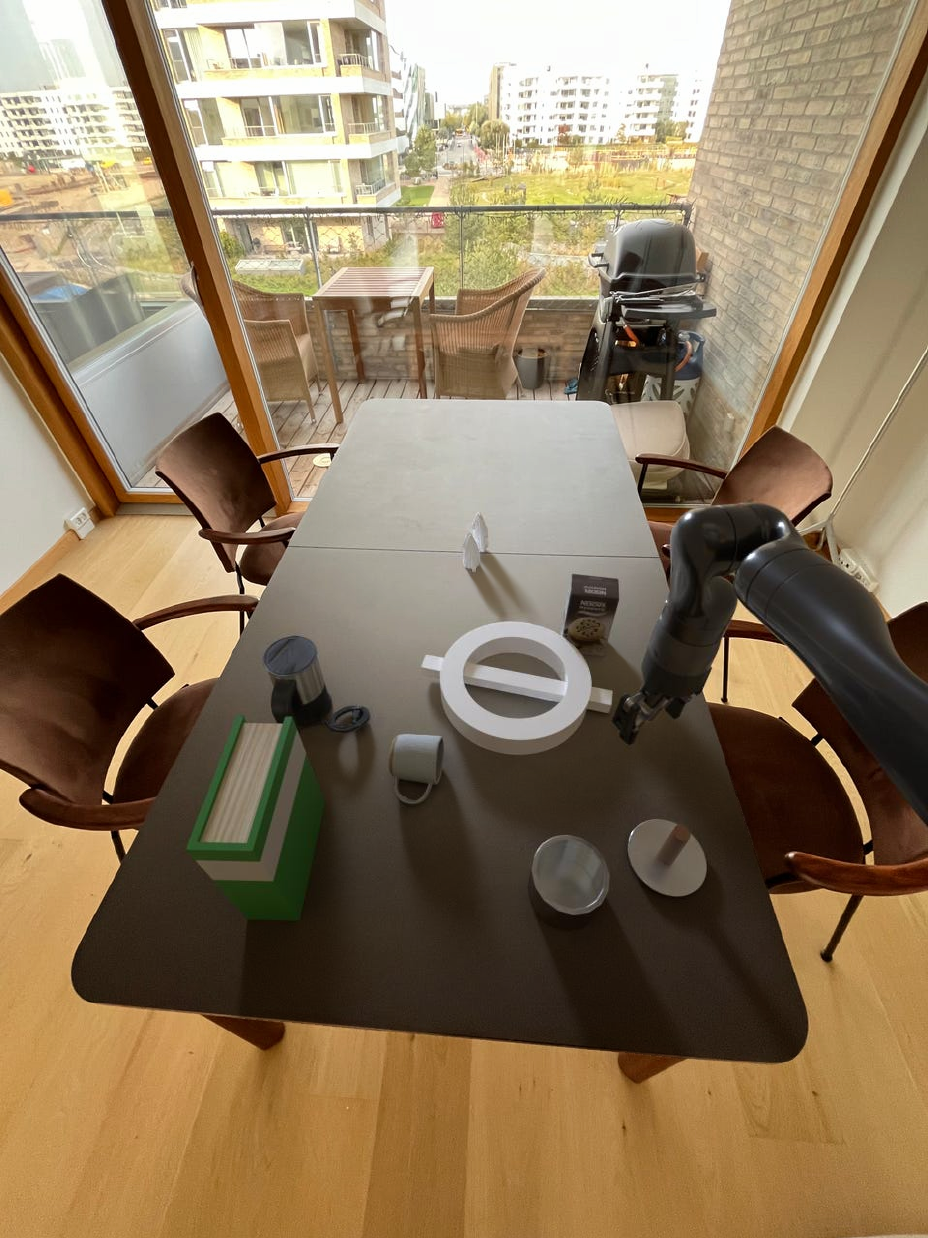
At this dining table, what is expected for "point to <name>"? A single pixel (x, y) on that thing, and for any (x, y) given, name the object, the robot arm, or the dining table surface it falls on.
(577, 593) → the coffee box
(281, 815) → the hardback book
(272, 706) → the milk frother
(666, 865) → the bowl lid
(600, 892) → the bowl
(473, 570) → the shaker set
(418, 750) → the ceramic mug
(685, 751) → the dining table surface
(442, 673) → the ring with crossbar
